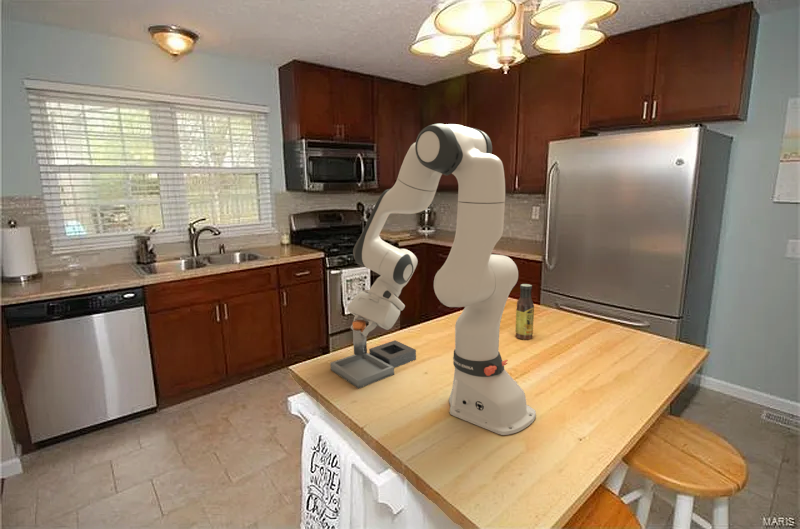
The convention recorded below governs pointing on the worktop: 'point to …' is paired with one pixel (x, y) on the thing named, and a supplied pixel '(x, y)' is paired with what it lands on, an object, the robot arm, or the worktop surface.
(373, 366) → the tray
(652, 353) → the worktop surface
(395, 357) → the receiver
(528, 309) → the sauce bottle
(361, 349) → the pin
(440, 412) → the worktop surface
